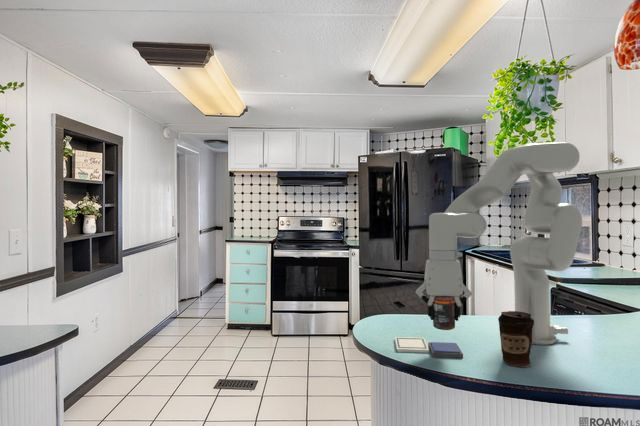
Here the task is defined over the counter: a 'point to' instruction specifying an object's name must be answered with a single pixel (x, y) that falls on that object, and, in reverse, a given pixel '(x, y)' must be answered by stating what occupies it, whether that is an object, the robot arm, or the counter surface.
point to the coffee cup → (516, 337)
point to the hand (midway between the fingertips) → (443, 318)
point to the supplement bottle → (444, 312)
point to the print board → (411, 344)
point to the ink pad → (445, 350)
